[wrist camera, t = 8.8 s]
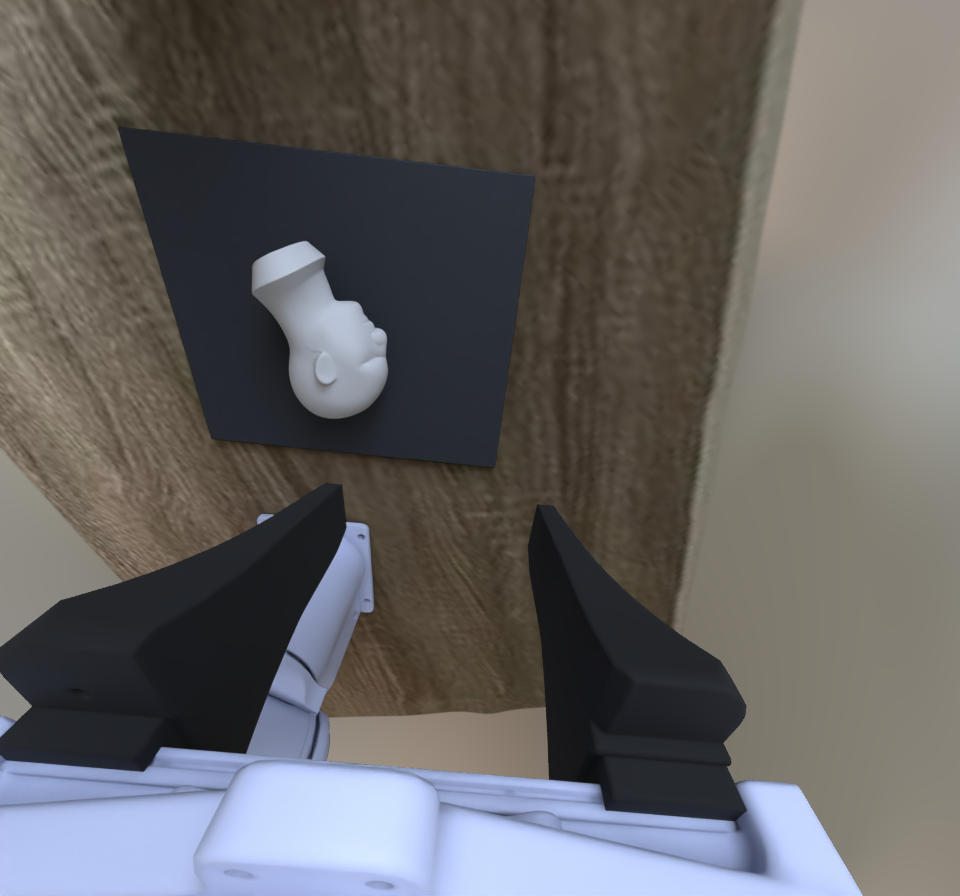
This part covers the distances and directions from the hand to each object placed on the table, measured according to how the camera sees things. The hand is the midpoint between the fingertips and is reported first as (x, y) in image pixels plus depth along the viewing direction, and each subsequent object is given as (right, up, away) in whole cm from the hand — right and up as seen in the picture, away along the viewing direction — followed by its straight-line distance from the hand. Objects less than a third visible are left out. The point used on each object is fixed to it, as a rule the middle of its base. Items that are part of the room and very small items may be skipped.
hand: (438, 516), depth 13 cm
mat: (-6, +9, +6) cm, 12 cm away
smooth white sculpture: (-6, +9, +6) cm, 12 cm away
